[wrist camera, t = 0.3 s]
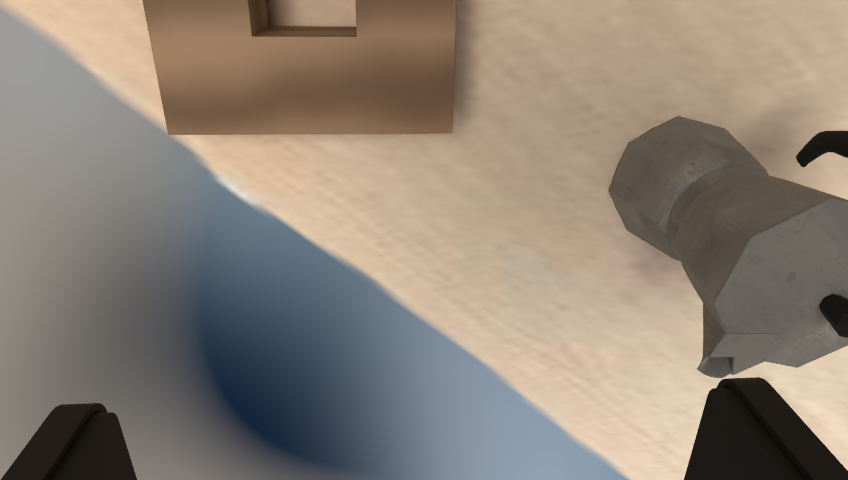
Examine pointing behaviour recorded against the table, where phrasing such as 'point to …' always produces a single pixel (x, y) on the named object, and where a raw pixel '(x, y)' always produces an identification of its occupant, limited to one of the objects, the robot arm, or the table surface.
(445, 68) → the socket block
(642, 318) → the table surface
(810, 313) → the coffeepot
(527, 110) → the table surface
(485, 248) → the table surface
